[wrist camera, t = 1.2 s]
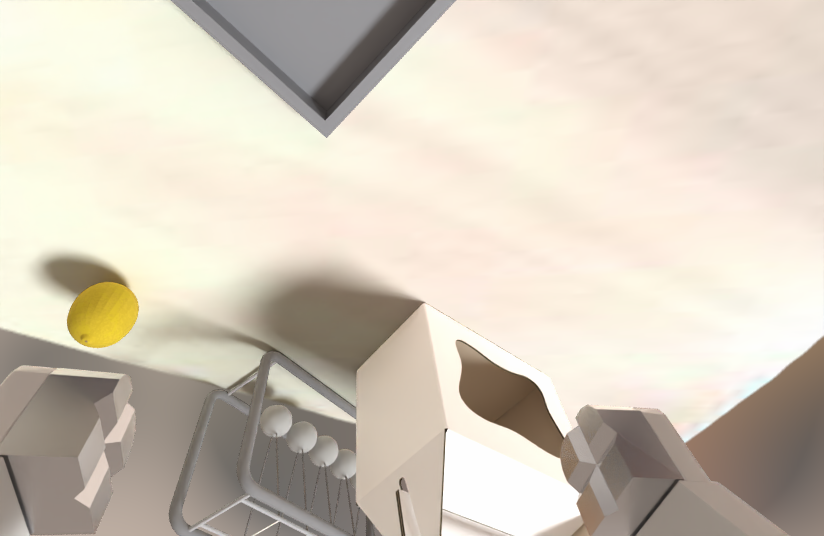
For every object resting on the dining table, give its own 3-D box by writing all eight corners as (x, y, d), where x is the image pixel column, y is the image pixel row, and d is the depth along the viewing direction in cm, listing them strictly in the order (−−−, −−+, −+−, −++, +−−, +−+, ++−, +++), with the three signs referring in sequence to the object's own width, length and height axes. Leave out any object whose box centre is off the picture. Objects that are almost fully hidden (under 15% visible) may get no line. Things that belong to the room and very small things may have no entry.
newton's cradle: (208, 385, 60) (159, 530, 45) (268, 341, 57) (237, 482, 42) (368, 486, 75) (371, 620, 60) (423, 455, 72) (440, 589, 57)
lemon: (148, 314, 53) (118, 368, 47) (91, 303, 52) (52, 357, 45) (151, 273, 50) (120, 325, 44) (91, 261, 49) (49, 312, 42)
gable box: (353, 369, 61) (350, 636, 38) (422, 300, 56) (467, 559, 32) (482, 432, 70) (544, 678, 47) (551, 377, 65) (658, 623, 42)
